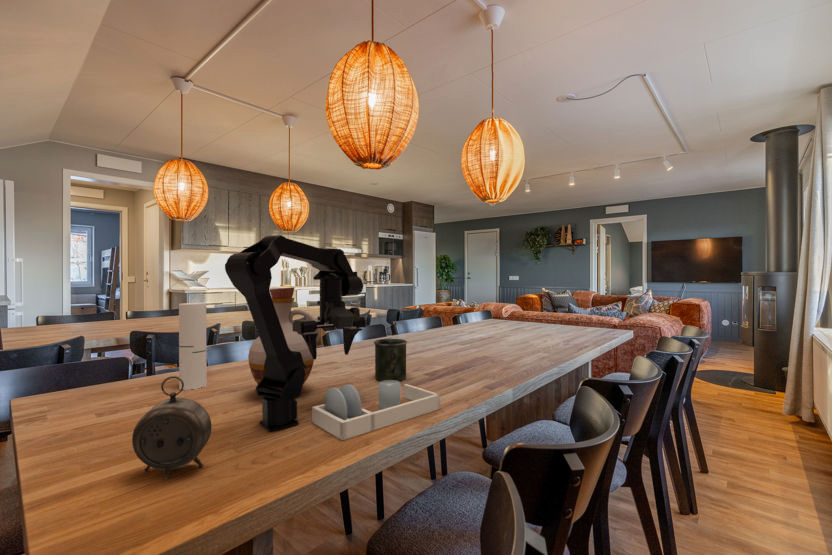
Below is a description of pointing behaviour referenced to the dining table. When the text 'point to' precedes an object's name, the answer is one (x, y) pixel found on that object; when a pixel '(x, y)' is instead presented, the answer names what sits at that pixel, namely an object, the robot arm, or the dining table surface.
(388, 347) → the mug
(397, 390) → the grey rectangular slab
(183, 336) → the cylindrical container
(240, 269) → the robot arm
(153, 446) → the alarm clock
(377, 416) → the dish rack
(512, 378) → the dining table surface
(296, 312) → the jug
